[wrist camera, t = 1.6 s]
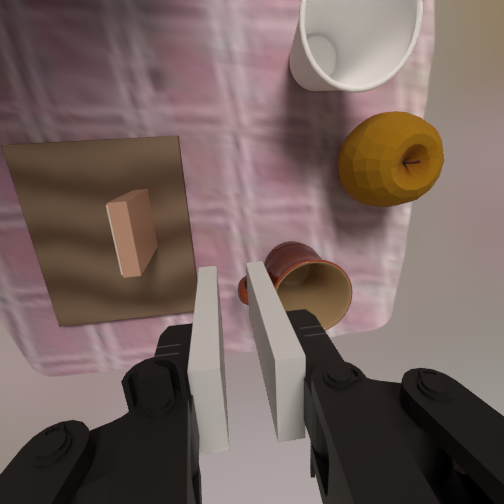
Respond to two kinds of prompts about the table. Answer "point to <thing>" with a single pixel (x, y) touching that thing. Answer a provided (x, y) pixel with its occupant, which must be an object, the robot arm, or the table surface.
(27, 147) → the board
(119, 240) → the tile
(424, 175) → the apple
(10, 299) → the table surface
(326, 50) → the cup
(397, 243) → the table surface
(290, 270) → the mug
